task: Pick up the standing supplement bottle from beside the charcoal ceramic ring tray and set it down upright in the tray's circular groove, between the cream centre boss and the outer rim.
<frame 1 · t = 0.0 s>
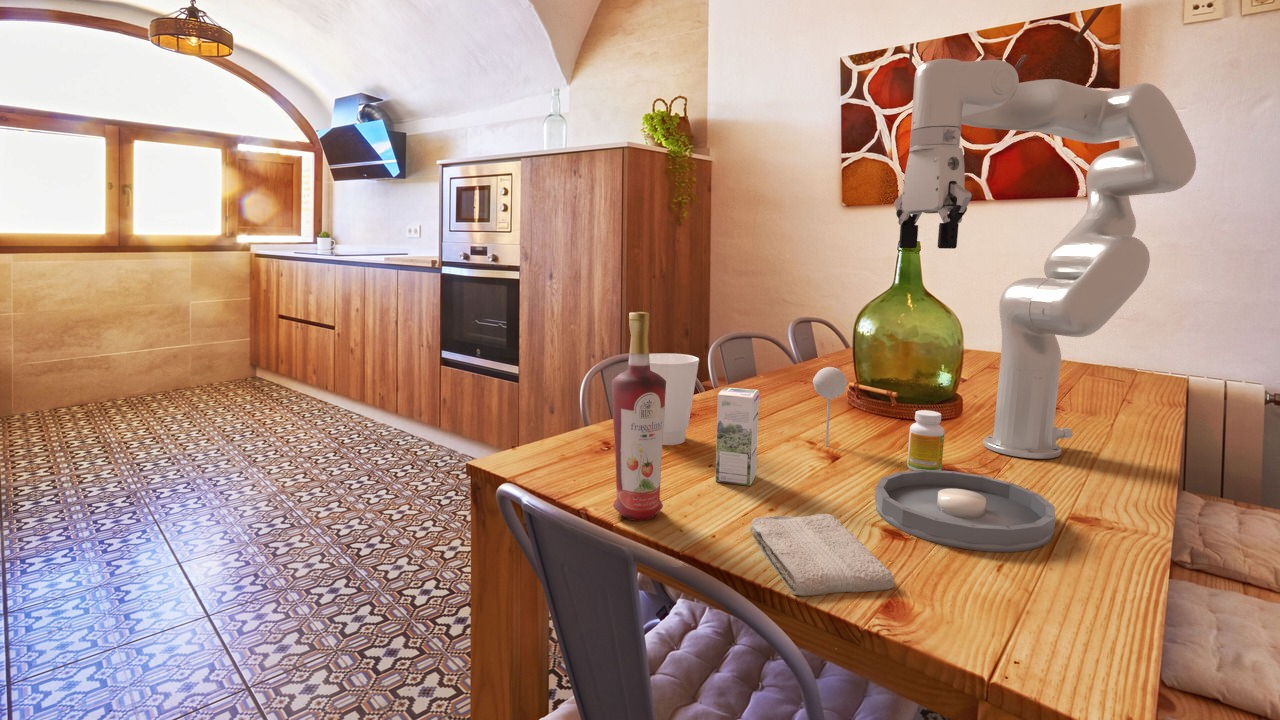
hand: (926, 248, 113), 37 cm above the table, tool pointing down, fingers open, 9 cm apart
liquor: (638, 515, 93), on the table
washcloth: (813, 563, 81), on the table
syrup box: (735, 480, 108), on the table
lollipop: (826, 446, 127), on the table
cup: (666, 440, 130), on the table
supplement bottle: (923, 469, 114), on the table
ring tray: (959, 516, 93), on the table
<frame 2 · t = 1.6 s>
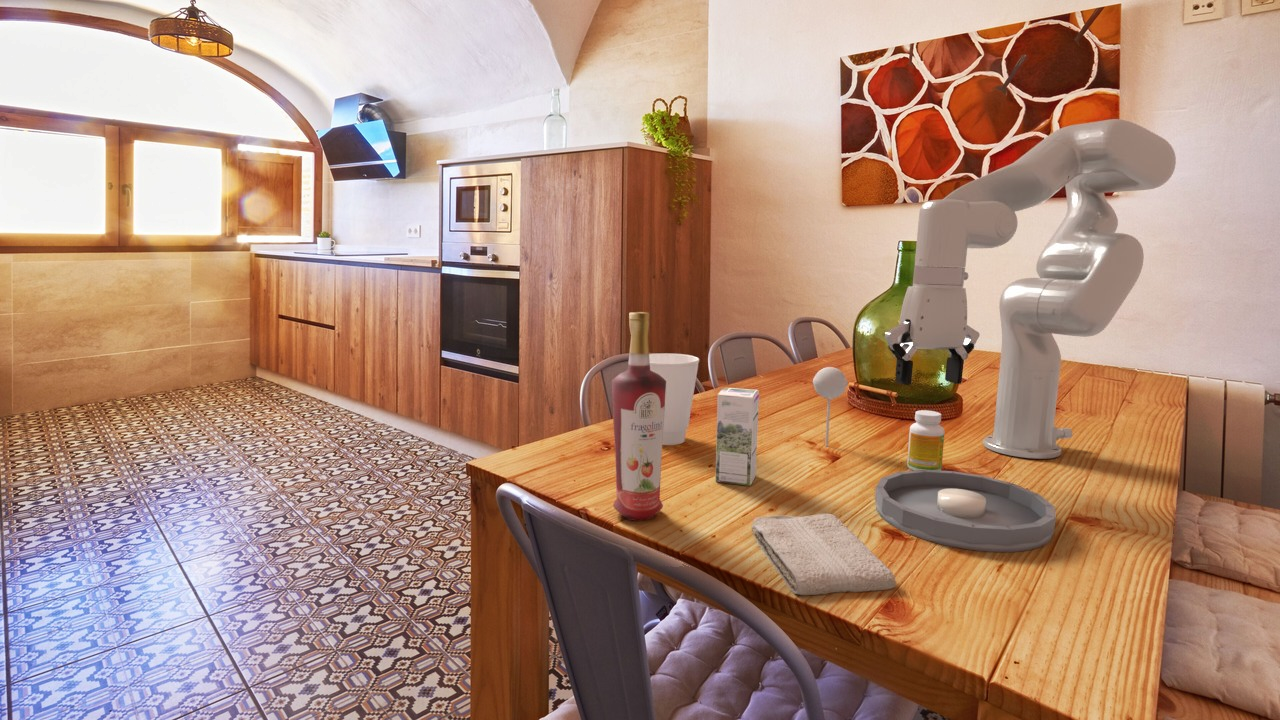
hand: (928, 382, 111), 15 cm above the table, tool pointing down, fingers open, 9 cm apart
nothing on the table moved.
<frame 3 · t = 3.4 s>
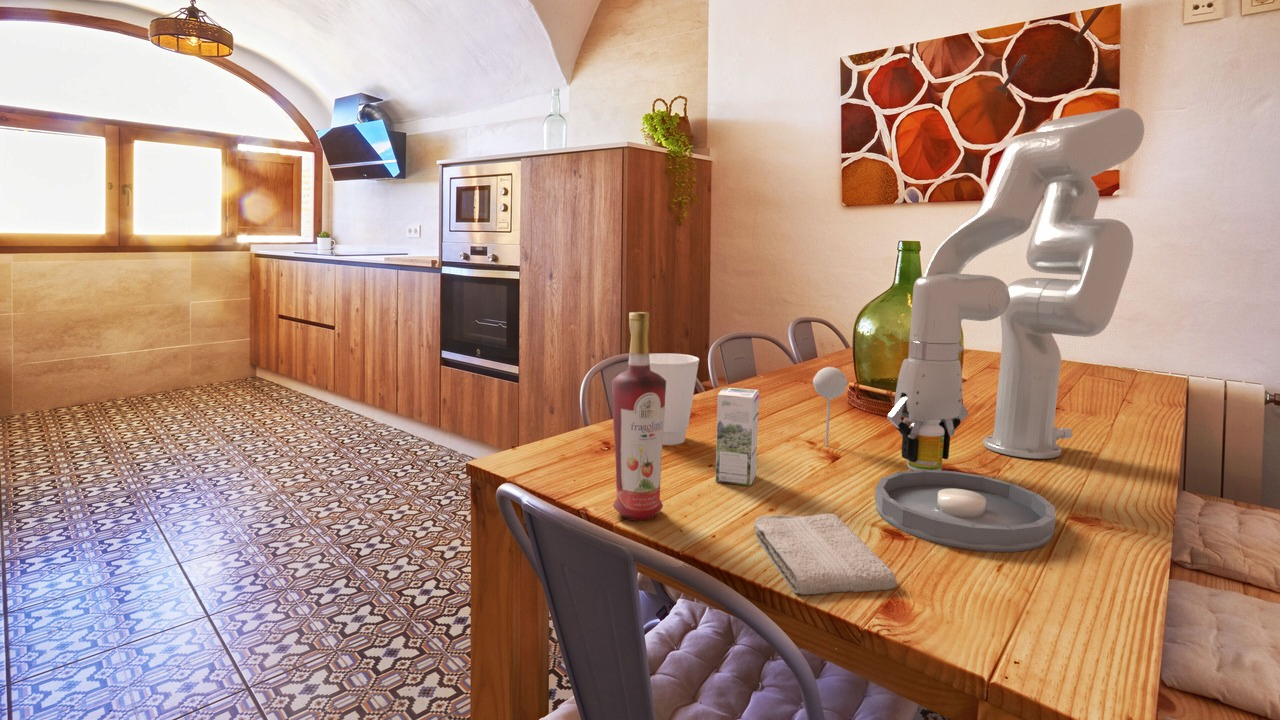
hand: (924, 457, 113), 2 cm above the table, tool pointing down, fingers closed on supplement bottle, 5 cm apart
supplement bottle: (923, 469, 114), on the table, touching gripper
everything else where it was.
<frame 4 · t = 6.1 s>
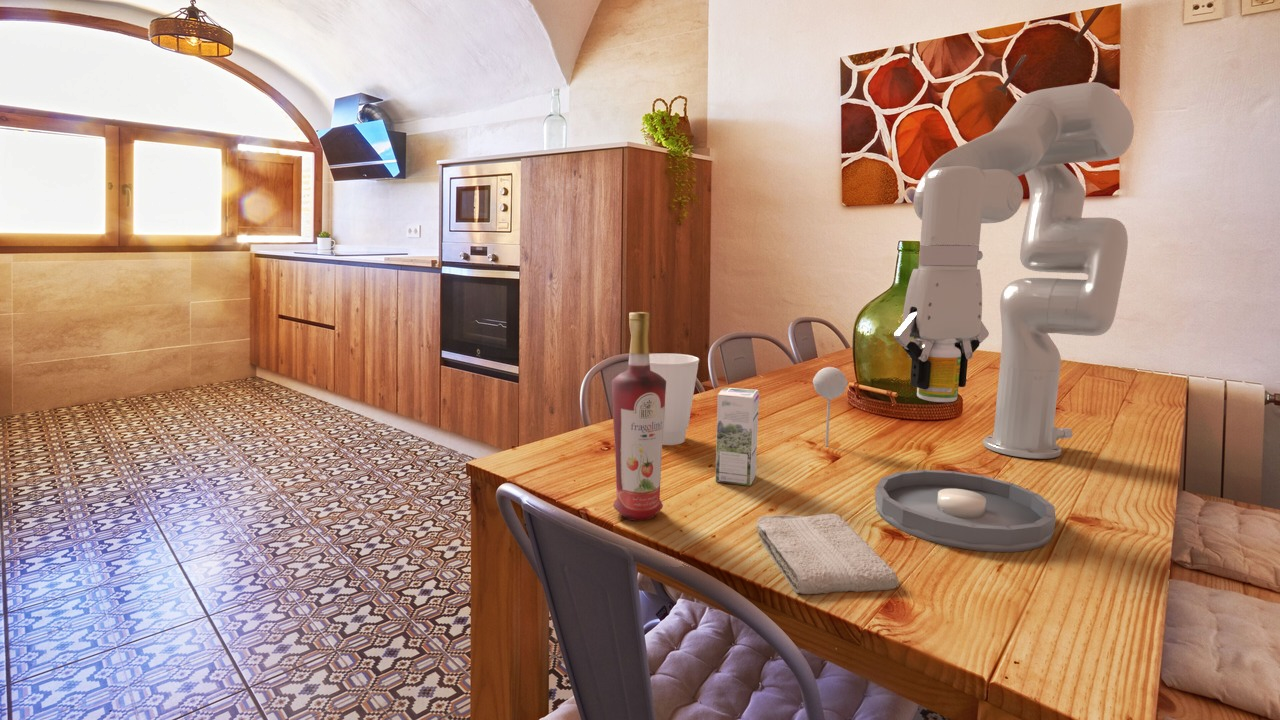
hand: (937, 385, 97), 17 cm above the table, tool pointing down, fingers closed on supplement bottle, 5 cm apart
supplement bottle: (936, 399, 97), point 15 cm above the table, touching gripper
everything else where it was.
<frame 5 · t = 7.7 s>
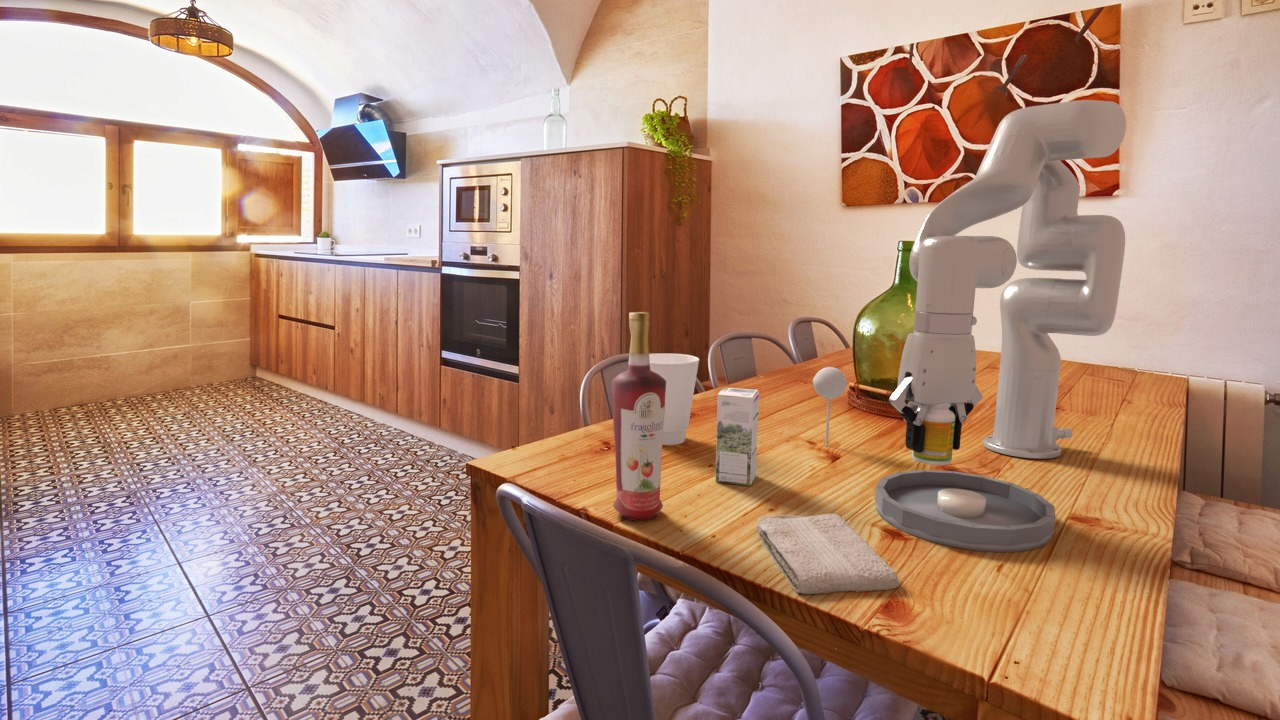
hand: (932, 447, 98), 8 cm above the table, tool pointing down, fingers closed on supplement bottle, 5 cm apart
supplement bottle: (931, 461, 98), point 6 cm above the table, touching gripper
everything else where it was.
when the fingers open (4 cm above the table, at t = 8.9 s): supplement bottle drops 1 cm, resting on ring tray.
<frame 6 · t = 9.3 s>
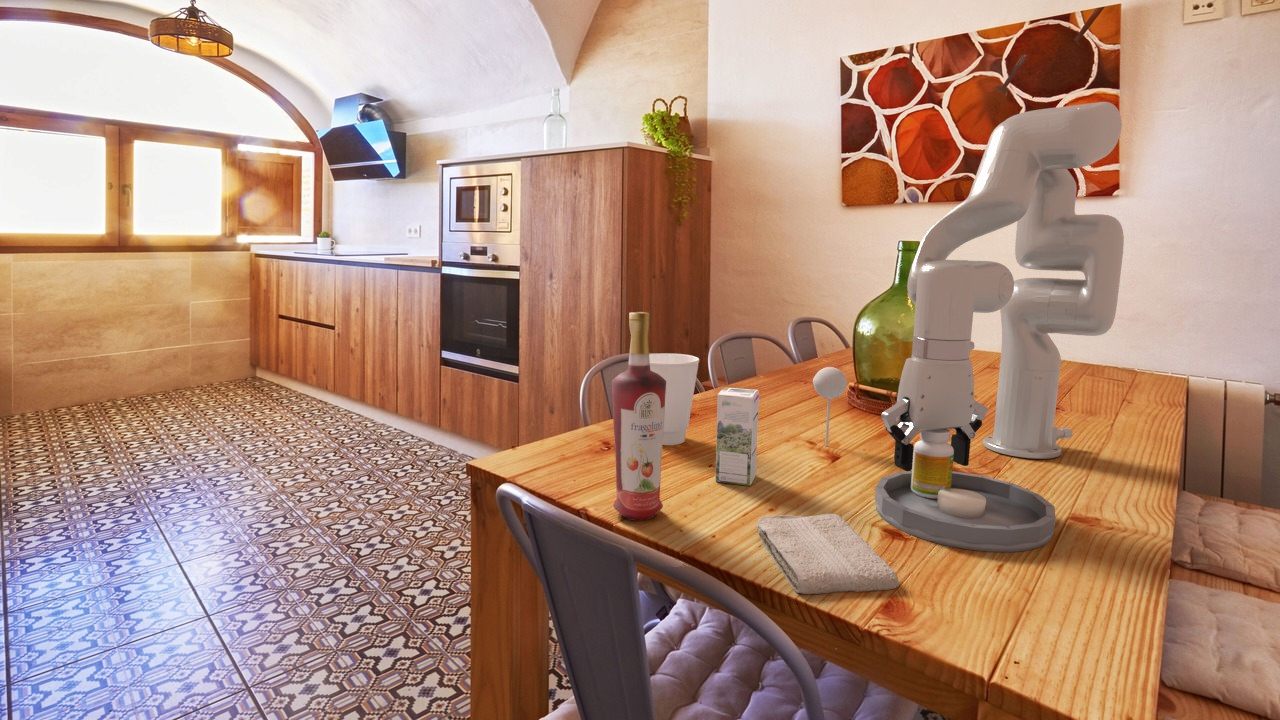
hand: (931, 465, 99), 5 cm above the table, tool pointing down, fingers open, 9 cm apart
supplement bottle: (930, 494, 100), point 1 cm above the table, touching ring tray
everything else where it was.
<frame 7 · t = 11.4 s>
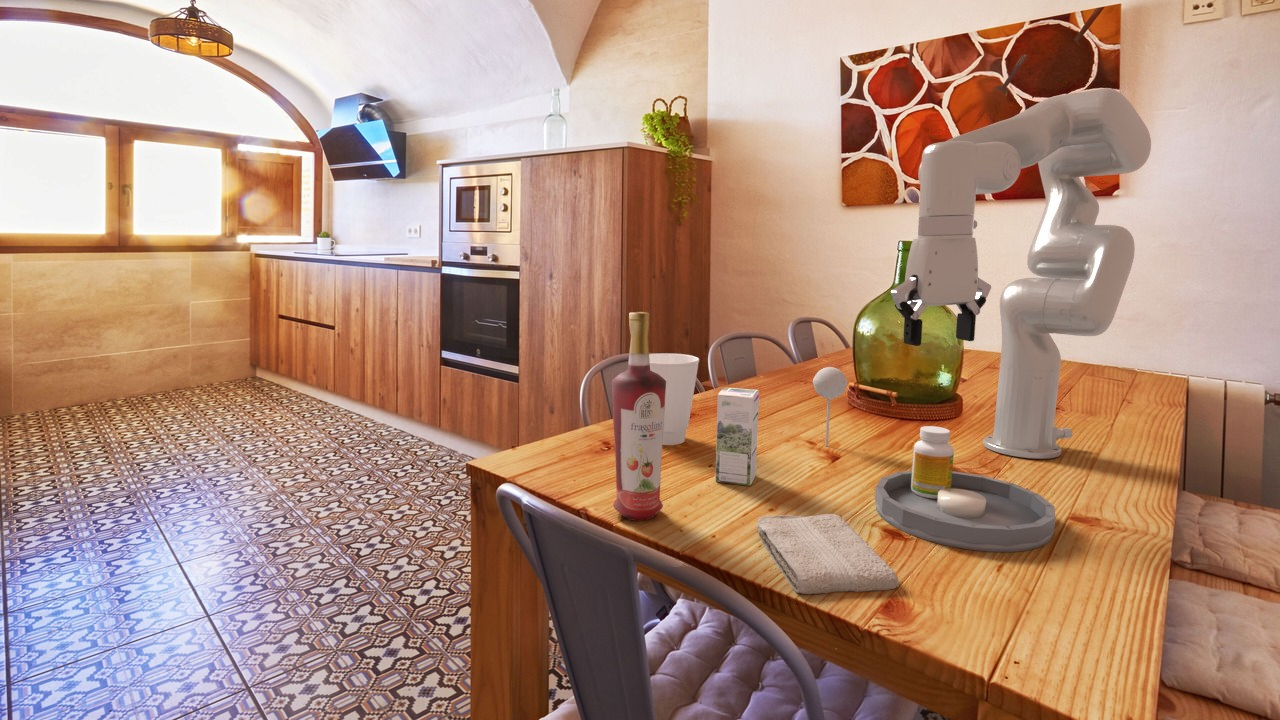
hand: (938, 342, 103), 22 cm above the table, tool pointing down, fingers open, 9 cm apart
nothing on the table moved.
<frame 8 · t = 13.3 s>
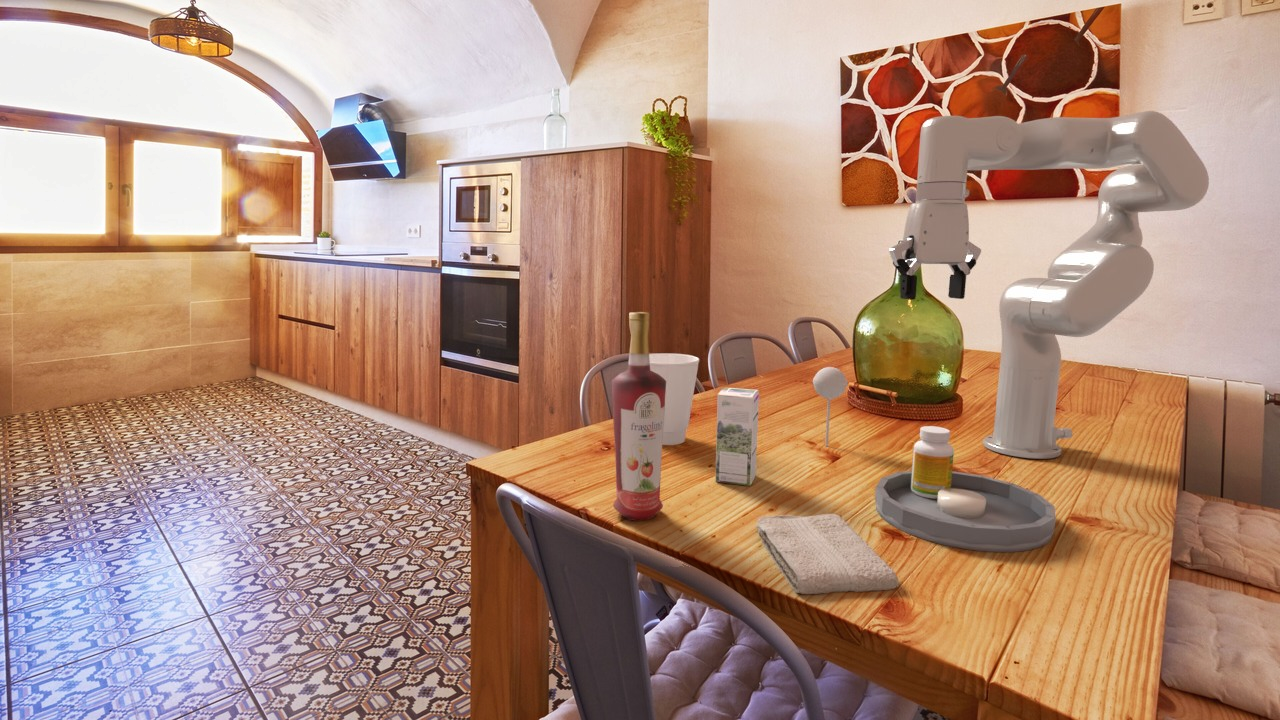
hand: (932, 298, 115), 28 cm above the table, tool pointing down, fingers open, 9 cm apart
nothing on the table moved.
at the end: supplement bottle inside the target area on the ring tray (0.3 cm from its centre), point 0.8 cm above the ring tray's base; supplement bottle tilted 0°; the gripper is holding nothing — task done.
